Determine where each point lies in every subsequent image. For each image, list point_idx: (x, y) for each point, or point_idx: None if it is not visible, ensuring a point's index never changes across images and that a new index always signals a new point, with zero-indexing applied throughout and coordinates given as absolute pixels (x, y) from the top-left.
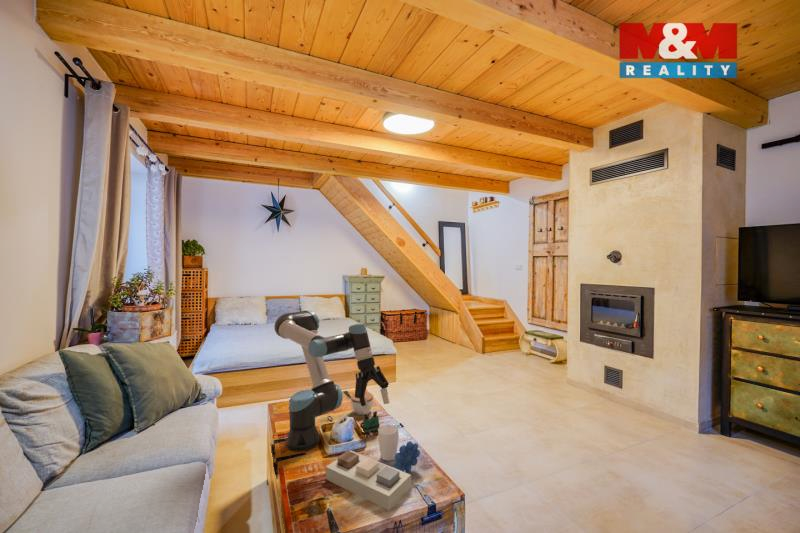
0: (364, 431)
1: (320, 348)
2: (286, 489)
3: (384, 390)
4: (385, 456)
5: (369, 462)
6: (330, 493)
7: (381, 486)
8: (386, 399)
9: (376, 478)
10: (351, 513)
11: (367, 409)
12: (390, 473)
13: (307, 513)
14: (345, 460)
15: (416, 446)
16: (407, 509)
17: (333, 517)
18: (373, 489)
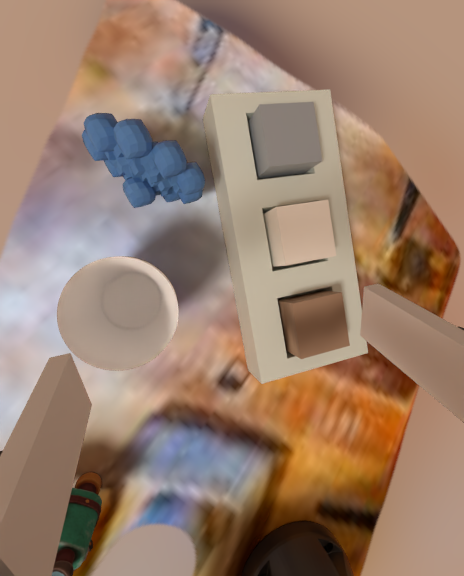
0: (101, 500)
1: None
2: None
3: (18, 514)
4: (161, 288)
5: (295, 234)
6: (365, 283)
7: None
8: (64, 397)
9: (302, 180)
10: (371, 184)
11: (403, 301)
12: (287, 124)
13: (429, 263)
14: (342, 309)
15: (104, 114)
16: (273, 73)
17: (402, 207)
18: (338, 151)
